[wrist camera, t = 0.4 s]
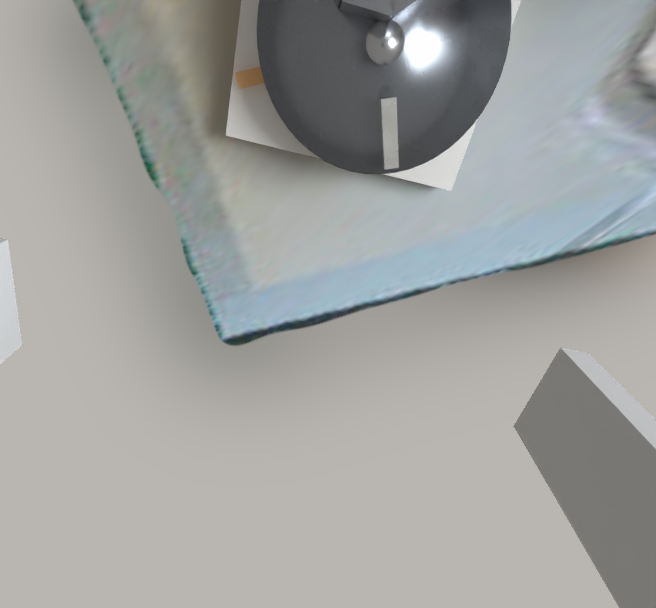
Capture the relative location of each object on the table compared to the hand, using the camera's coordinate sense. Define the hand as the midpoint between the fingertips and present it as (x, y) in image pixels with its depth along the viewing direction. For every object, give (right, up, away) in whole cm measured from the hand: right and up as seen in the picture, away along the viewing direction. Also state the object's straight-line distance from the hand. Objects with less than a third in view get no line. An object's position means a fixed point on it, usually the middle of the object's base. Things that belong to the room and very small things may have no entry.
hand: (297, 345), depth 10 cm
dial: (+4, +19, +17) cm, 26 cm away
